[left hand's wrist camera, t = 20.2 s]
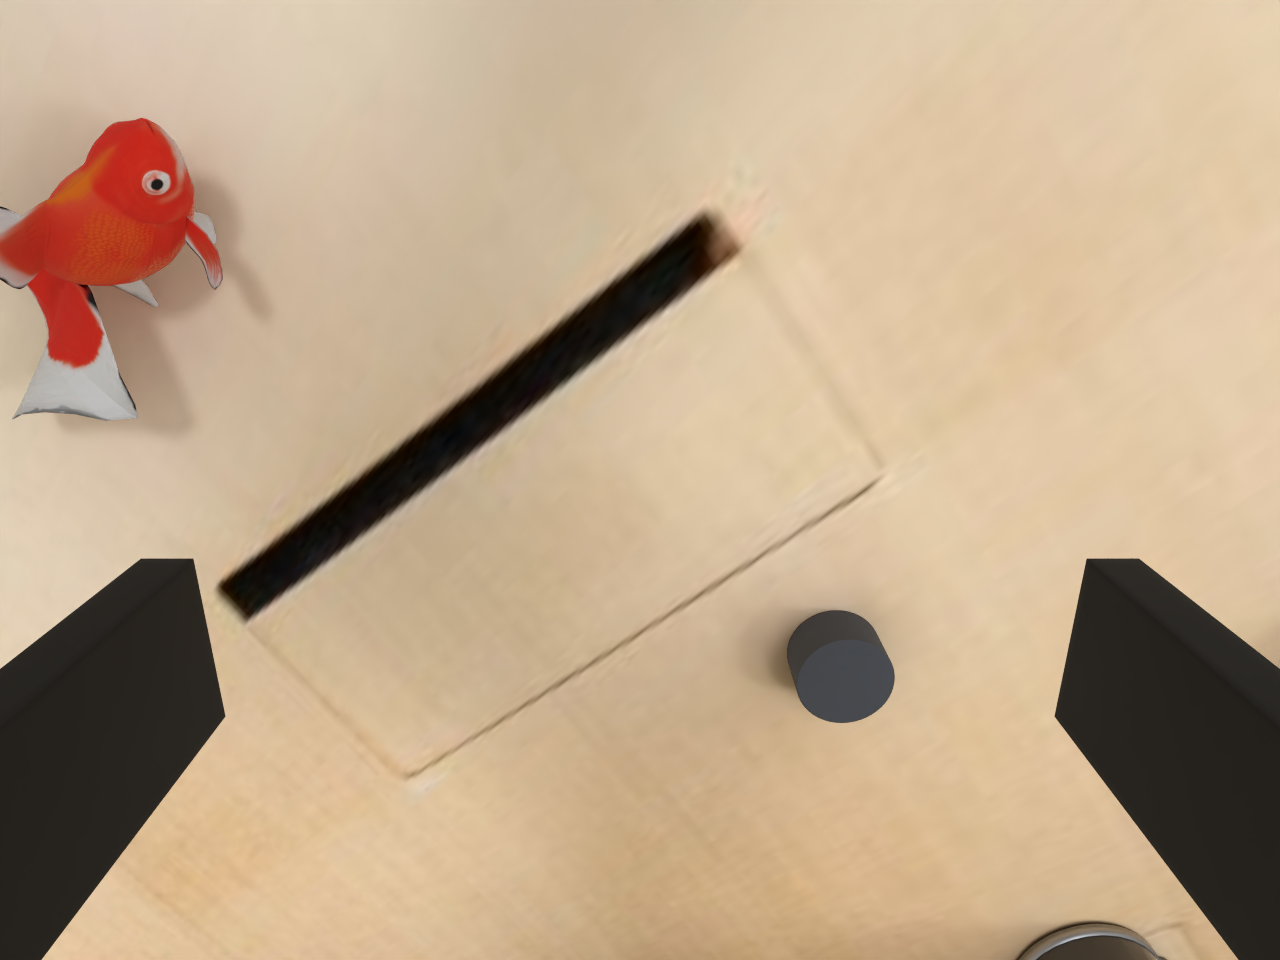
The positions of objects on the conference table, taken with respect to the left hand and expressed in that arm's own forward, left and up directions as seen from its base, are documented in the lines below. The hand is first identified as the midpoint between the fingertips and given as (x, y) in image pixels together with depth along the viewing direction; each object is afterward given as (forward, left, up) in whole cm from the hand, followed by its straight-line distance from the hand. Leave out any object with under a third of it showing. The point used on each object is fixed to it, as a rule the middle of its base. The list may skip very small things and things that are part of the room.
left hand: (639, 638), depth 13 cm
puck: (+18, +10, -29) cm, 35 cm away
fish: (-2, -23, -29) cm, 37 cm away
